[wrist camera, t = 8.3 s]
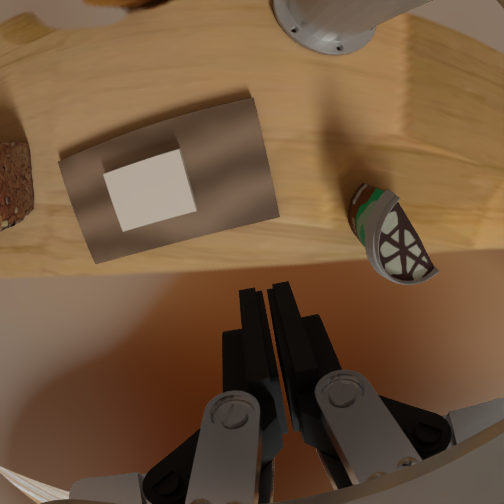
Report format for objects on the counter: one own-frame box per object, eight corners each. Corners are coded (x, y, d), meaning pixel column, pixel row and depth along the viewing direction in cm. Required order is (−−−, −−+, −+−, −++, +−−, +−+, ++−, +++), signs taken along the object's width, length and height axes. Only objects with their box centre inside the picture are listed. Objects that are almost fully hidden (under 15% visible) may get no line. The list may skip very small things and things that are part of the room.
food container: (320, 205, 37) (350, 235, 28) (356, 173, 35) (397, 193, 26) (369, 269, 41) (402, 308, 32) (401, 241, 40) (440, 274, 31)
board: (62, 160, 31) (57, 161, 30) (252, 98, 31) (253, 97, 30) (98, 260, 37) (95, 264, 36) (278, 214, 37) (279, 217, 36)
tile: (181, 147, 31) (108, 171, 31) (179, 149, 30) (103, 174, 30) (197, 206, 34) (126, 227, 34) (196, 211, 33) (122, 231, 33)
